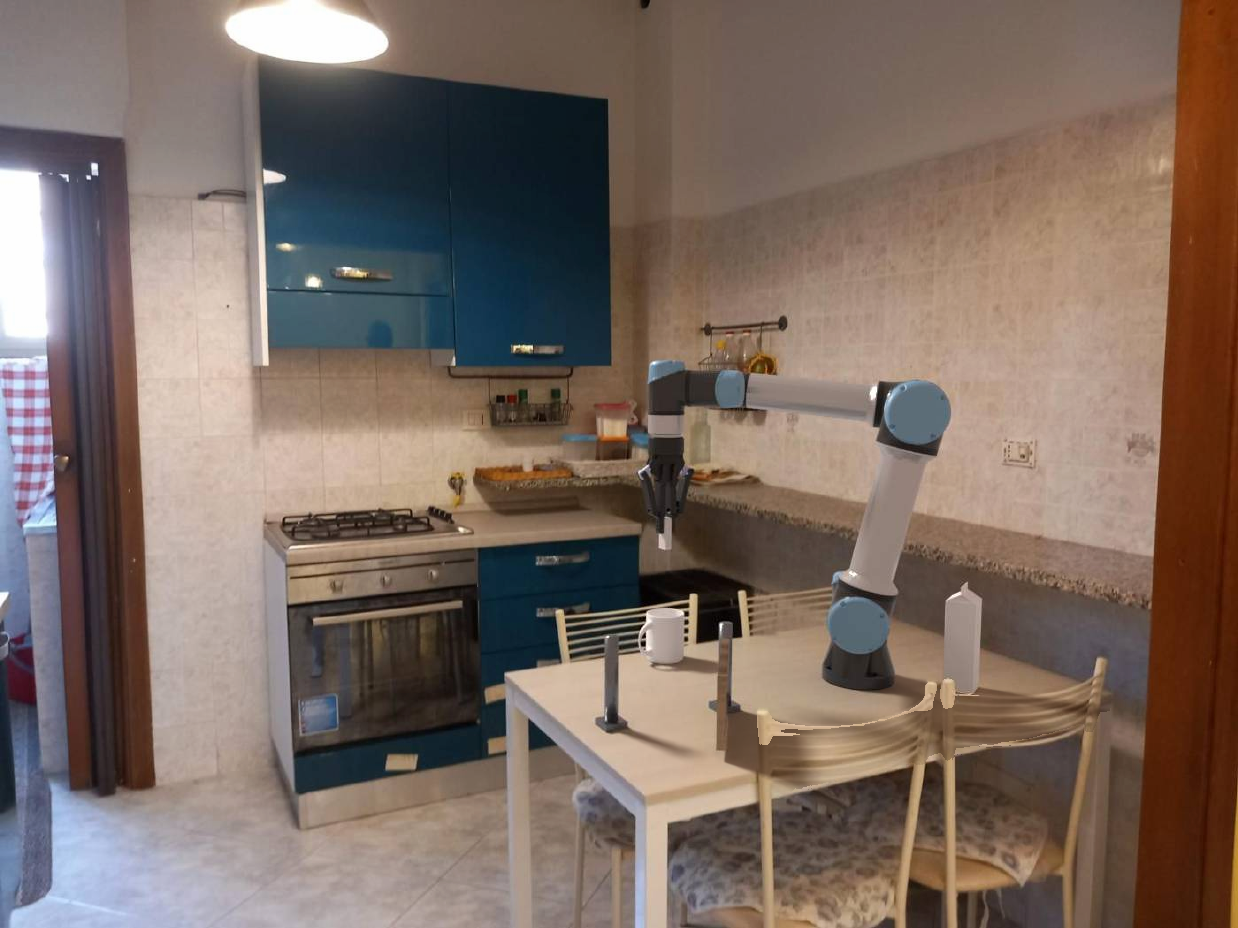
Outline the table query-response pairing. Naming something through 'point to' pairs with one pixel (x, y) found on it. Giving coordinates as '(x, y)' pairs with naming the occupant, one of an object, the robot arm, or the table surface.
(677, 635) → the mug
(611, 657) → the gate frame
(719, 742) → the gate
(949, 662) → the milk
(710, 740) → the table surface
